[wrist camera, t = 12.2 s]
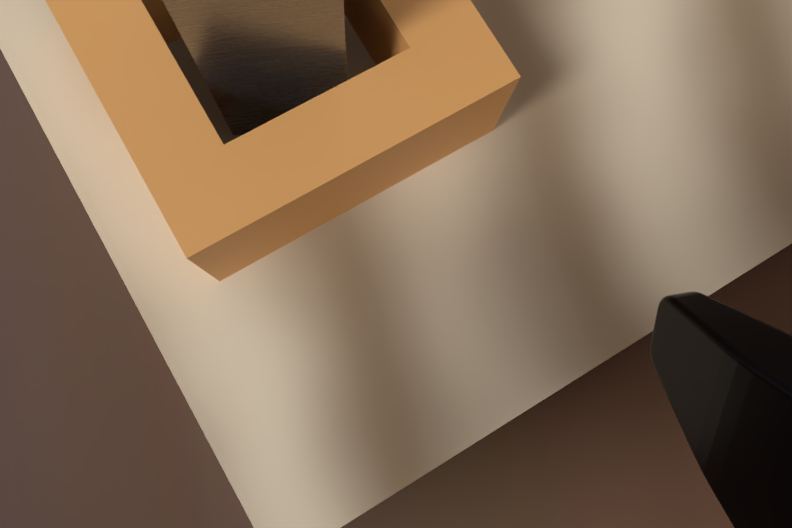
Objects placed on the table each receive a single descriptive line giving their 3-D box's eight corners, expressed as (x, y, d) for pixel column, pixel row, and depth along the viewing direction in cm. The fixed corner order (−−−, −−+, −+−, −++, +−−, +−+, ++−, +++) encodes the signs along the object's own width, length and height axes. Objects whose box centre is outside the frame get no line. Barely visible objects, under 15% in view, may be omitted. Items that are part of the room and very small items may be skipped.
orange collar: (219, 281, 16) (186, 258, 13) (75, 20, 17) (13, -58, 14) (492, 130, 17) (520, 76, 14) (341, -106, 18) (337, -203, 15)
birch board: (281, 556, 15) (275, 568, 14) (0, 29, 18) (-21, 7, 17) (949, 136, 18) (982, 123, 17) (642, -271, 21) (656, -305, 20)
